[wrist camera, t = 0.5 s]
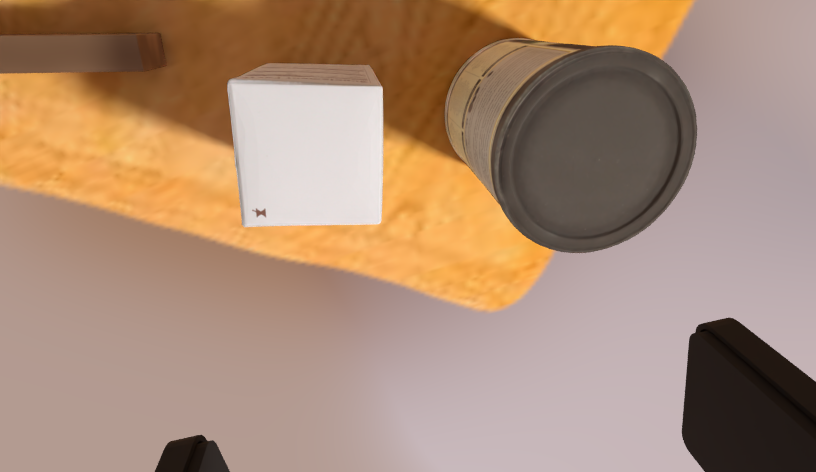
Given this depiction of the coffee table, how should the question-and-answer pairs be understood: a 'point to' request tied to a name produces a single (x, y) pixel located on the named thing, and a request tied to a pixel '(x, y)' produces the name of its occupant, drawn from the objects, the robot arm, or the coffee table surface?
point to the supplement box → (308, 144)
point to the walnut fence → (80, 52)
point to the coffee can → (573, 138)
